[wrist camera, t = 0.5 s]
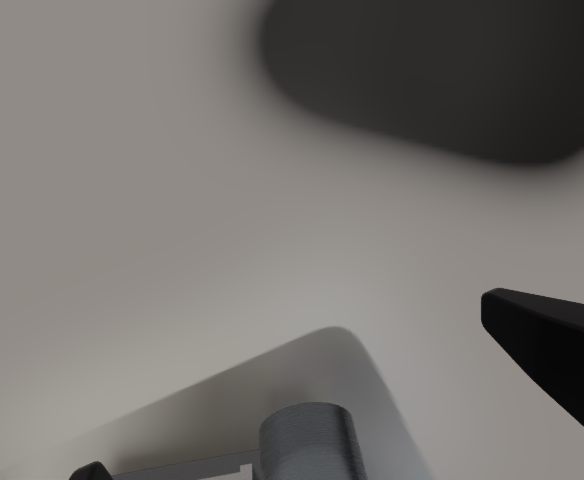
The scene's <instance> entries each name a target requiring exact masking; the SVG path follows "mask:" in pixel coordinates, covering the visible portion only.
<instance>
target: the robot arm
mask: <svg viewBox="0 0 584 480" xmlns="http://www.w3.org/2000/svg"><path fill="white" fill-rule="evenodd" d="M481 322H482V324H483V327H484V328H485V330H486V331H487V332H488V333H489V334H490V335H491V336H492V337H493V338H494V339H495V341H496V342H497V343H498V344H499V345H500V346H501V347H502V348H503V349H504V350H505V351H506V352H507V353H508V354H509V356H510V357H511V358H512V359H513V360H514V361H515V362H516V363H517V364H518V365H519V366H520V367H521V369H522V370H523V371H524V372H525V373H526V374H527V375H528V376H529V377H530V378H531V379H532V380H533V381H534V382H535V383H536V384H538V385H539V386H540V387H541V388H542V389H543V390H544V391H545V392H546V393H547V394H548V395H549V396H550V397H552V398H553V399H554V400H555V401H556V402H557V403H558V404H559V405H560V406H562V407H563V408H564V409H565V410H566V411H567V412H568V413H569V414H570V415H571V416H573V417H574V418H575V419H576V420H577V421H578V422H579V423H580V424H581V425H582V426H584V304H581V303H576V302H571V301H566V300H561V299H555V298H550V297H545V296H540V295H535V294H529V293H524V292H519V291H514V290H509V289H504V288H495V289H492V290H490V291H488V292H485V293H484V294H483V295H482V297H481ZM69 480H113V478H112V477H111V475H110V474H109V473H108V471H107V470H106V468H105V467H104V466H103V464H102V463H101V462H98V461H96V462H93V463H90V464H88V465H86V466H83V467H81V468H79V469H77V470H76V471H75V472H74V473H73V474H72V475H71V477H70V478H69Z"/></svg>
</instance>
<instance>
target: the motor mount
mask: <svg viewBox="0 0 584 480" xmlns="http://www.w3.org/2000/svg"><path fill="white" fill-rule="evenodd" d="M259 443H260V449H258V450H253V451H247V452H242V453H236V454H230V455H225V456H219V457H214V458H208V459H202V460H197V461H191V462H186V463H180V464H174V465H169V466H163V467H158V468H152V469H147V470H141V471H135V472H130V473H124V474H119V475H113V476H111V477H112V478H113V480H368V479H367V475H366V471H365V467H364V463H363V459H362V455H361V451H360V447H359V443H358V439H357V435H356V431H355V428H354V424H353V420H352V416H351V414H350V413H349V412H348V411H347V410H346V409H344V408H342V407H340V406H338V405H334V404H330V403H321V402H313V403H303V404H298V405H294V406H290V407H287V408H284V409H282V410H280V411H278V412H276V413H274V414H272V415H271V416H270V417H268V418H267V419H266V420H265V421H264V422H263V423H262V425H261V427H260V430H259Z"/></svg>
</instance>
